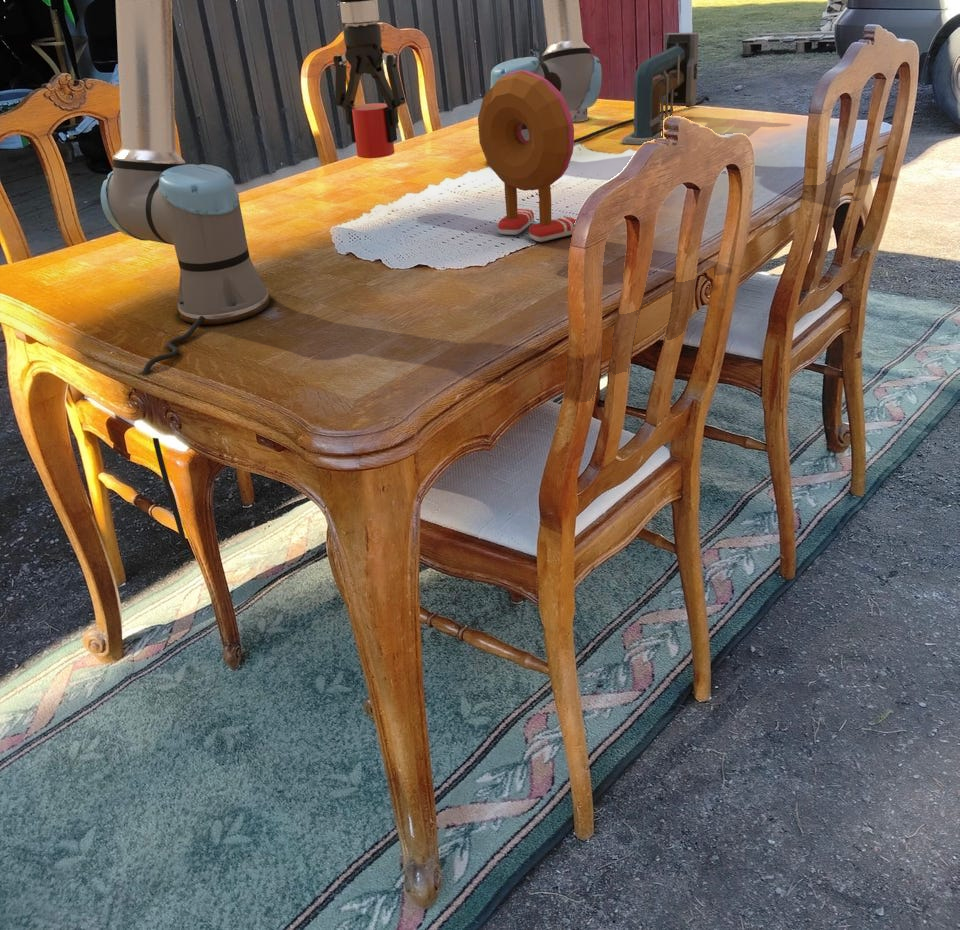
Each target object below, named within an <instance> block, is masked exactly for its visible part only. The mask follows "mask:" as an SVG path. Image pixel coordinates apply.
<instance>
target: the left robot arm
mask: <svg viewBox="0 0 960 930" xmlns="http://www.w3.org/2000/svg"><path fill="white" fill-rule="evenodd" d="M339 8H340V14H341V15H340V17H341V18H340V19H341V23H342V24H344V26H343V28H342V33H343V39H344V41H343V42H344V46H345V53H344V54H342V53H340V54H337V55H334V56H333V57H332V60H333V63H334V67H335V84H334V85H335V90H334V91H335V93H334V94H335V96H334V98H335V100H334V103H335V106H337V107H341V108H343V109H344V114H345V122H346V125H347V126H348V125H349V130H350V137H351V142H352V143H356V140H355V132H354V124H353V115H352V108H353V107H355V106H356V104H355V101H356V97H357V94H358V90H359V89H358V88H359V85H360V81H361V78H362V76H363V74H367V75H370V76H371V78H372V79H373V80H374V81H375V83H376V85H377V88H378V90H379V92H380V94H381V96H382V98H383V100H384V102H385V104H387V106H388V108H386V110H385V117H386V126H387V135H388V143H392V142H396V141H398V133H397V125H399V122H400V119H399V111H398V110H399V107H400V106H402V105H405V104H406V96H405V92H404V89H403V85H402V80H401V76H400V72H399V68H398V54H397V53H387V52H385V51H384V49H383V46H382V41H383V40H382V39H383V38H382V30H381V29H382V28H381V25H380V23H378V21H379V20H380V14H379V3H378V0H339ZM115 19H116V40H117V41H116V42H117V66H118V67H117V68H118V88H119V92H118V93H119V111H120V112H119V113H120V114H119V115H120V138H121V147H120V149H119V150H118V151H116V153H115V154H114V155H112V171H110V172H109V173H108V175H107V176H106V179H104V181H103V182H102V186H101V189H100V204H101V207H102V208H101V209H102V210H103V213H104V215H105V217H106V219H107V221H108V222H109V223H110V224H111V225H112V227H114V229H116V230H117V231H118V232H119V233H122V234H123V235H125V236H129V237H132V238H133V239H136V240H139V241H142V242H143V241H144V242H145V241H146V242H147V241H148V242H149V241H150V242H155V243H160V244H166V245H171V246H173V247H174V250H175V254H176V258H177V262H178V266H179V283H178V294H177V310H178V314H179V318H180V319H182V320H183V321H184V322H186V323H189V324H192V325H191V326H190V328H189V329H188V330H187V331H186V332H185V333H184V334H182V335H180V336H177V337H174V338H171V339H170V340H168V341H167V342H166V343H165V344H166V348H167V349H168V350H169V351H170V352H167V353H164V354H159V355H157V356H153V357H152V358H150V359H149V360H148V361H147V362H146V364H145V365H144V368H143V370H142V375H144V376H146V375H148V374H149V373H150V370H151V368H152V367H153V366H154V365H155V364H156V363H158V362H162V361H165V360H169V359H172V358H175V357H177V355H178V354H179V349H178V347H176V346H175V344H178V343H181V342H183V341H186V340H188V339H189V338H190V337H191V336H193V334H194V333H195V331H196V330H197V329H198V327H199V326H201V325H202V326H203V325H204V326H205V325H206V326H210V325H222V324H230V323H233V322H239V321H241V320H245V319H248V318H251V317H253V316H256V315H258V314H260V312H263V311H264V310H265V309H266V308H267V307H268V306H269V305H270V296H269V291H268V288H267V287H266V284H265V283H264V282H263V280H262V278H261V276H260V274H259V272H258V270H257V269H256V267H255V265H254V264H253V262H252V260H251V257H250V251H249V246H248V241H247V240H248V239H247V236H246V231H245V230H246V229H245V224H244V220H243V214H242V208H241V204H240V195H239V192H238V191H237V187H236V184H235V179H234V178H233V176H232V175H231V173H230V172H229V171H227V170H226V169H224V168H223V167H219V166H217V165H212V164H206V163H205V164H204V163H200V164H194V163H189V164H188V163H187V164H186V161H185V159H183V157H181V155H180V154H179V153H178V152H177V150H176V149H177V147H176V118H175V117H176V115H175V82H174V80H175V76H174V73H175V72H174V41H173V40H174V39H173V38H174V37H173V35H174V34H173V33H174V32H173V0H115ZM383 61H384V65H385V67H386V72H387V76H388V79H387V77H386V75H385V70H384V68H383V66H382V63H383ZM348 64H349V65H350V70H349V78H348V83H347V65H348ZM388 80H389V82H388ZM152 443H153V446H154V451H155V455H156V459H157V462H158V466H159V470H160V473H161V477H162V481H163V485H164V487H165V490H166V494H167V497H168V501H169V504H170V509H171V511H172V514H173V518H174V522H175V525H176V528H177V532H178V535H179V540H180V543H181V545H182V546H186V545H187V544H188V542H187V539H186V534H185V531H184V527H183V523H182V520H181V515H180V511H179V508H178V505H177V502H176V499H175V495H174V492H173V488H172V486H171V483H170V479H169V476H168V475H169V474H168V471H167V468H166V464H165V460H164V456H163V453H162V448H161V444H160V441H159V438H158V437H152Z"/></svg>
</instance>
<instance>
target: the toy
mask: <svg viewBox="0 0 960 930" xmlns="http://www.w3.org/2000/svg"><path fill="white" fill-rule="evenodd" d="M560 90H561V80H560V77H559V76H558V75H557V74H556V73H554V72H550V73H547V74H546V75H545V77H541V76H539V75H537V74H534V73H532V72H529V71H525V70H519V71H516V72H513V73H509V74H507V75H504V76H503V77H502V78H500V79H499V80H498V81H497V82H496V83H495V84H494V86H493V87H492V88H491V89H490V88H489V90H488V91H487V93H485V95H484V96H483V97H482V102H481V105H480V109H479V113H478V117H477V127H478V128H477V129H478V140H479V145H480V148H481V151H482V153H483V156H484V158H485V160H486V163H487V165H488V166H489V168H490V169H491V170H492V171H493V172H494V173H495V174H496V175H497V177H498V178H499V179H500V180H501V182H502V183H504V199H505V200H504V201H505V213H506V214H505V216H504V217H503V218H501V219H500V220H499V221H498V223H497V232H498V234H500V235H510V236H513V235H514V236H515V235H519V234H520V233H522V232H523V231H524V230H525V229H527V228H528V227H529V228H528V235H529V238H530V239H532V240H533V241H535V242H539V243H544V242H548V241H552V240H556V239H561V238H564V237H568V236H572V230H573V226H574V223H575V221H576V220H577V219H576V218H574V217H571V216H564V217H560V218H555V219H552V190H551V186H552V185H553V184H554V183H556V182H558V180H559V179H561V178H562V177H563V176H564V175H565V173H566V171H567V170H568V169H569V165H570V162H571V159H572V157H573V152H574V146H575V143H574V140H575V127H574V122H573V121H572V117H571V114H570V111H569V108H568V105H567V102H566V101H565V99H564V97H563V96H562V94H561V93H560ZM523 124H525V125H526V126H527V129H528V132H529V141H527V140H525V139H524V137H523V135H522V133H521V130H522V125H523ZM518 190H520V191H525V192H526V191H536V190H537V191H538V192H537V193H538V212H539V213H538V214H539V222H538V223H534V222H535V214H534V212H533V209H532V210H531V209H527V208H518Z"/></svg>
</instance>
